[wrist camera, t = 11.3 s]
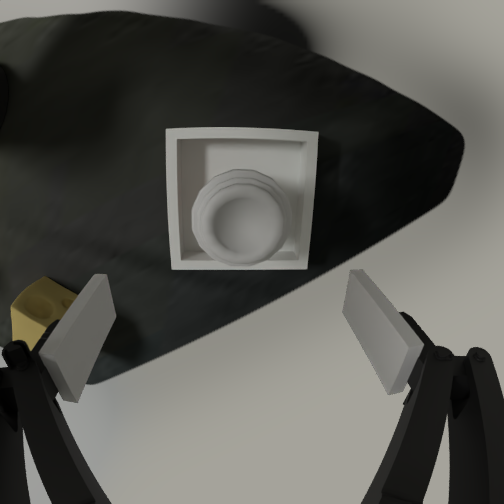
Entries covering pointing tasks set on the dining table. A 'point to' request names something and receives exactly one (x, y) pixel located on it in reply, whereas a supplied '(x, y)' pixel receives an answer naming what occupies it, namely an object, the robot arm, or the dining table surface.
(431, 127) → the dining table surface
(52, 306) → the cheese
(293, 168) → the white square tray
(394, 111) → the dining table surface
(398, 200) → the dining table surface
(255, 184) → the coffee cup
